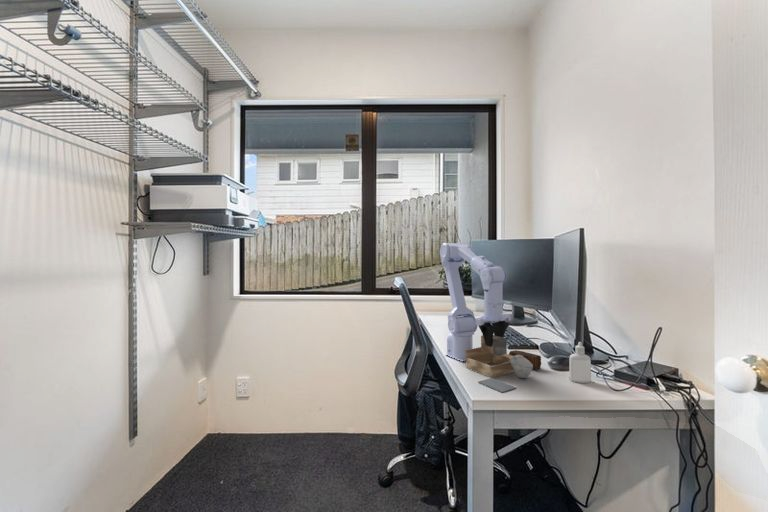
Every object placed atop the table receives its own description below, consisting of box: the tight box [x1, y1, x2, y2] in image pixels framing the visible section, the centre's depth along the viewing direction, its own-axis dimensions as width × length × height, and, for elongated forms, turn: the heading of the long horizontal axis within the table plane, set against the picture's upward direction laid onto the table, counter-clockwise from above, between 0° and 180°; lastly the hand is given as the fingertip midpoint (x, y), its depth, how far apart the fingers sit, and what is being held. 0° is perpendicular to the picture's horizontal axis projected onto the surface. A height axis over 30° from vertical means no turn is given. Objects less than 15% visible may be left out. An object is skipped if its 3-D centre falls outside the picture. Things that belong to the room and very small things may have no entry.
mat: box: [478, 377, 517, 394], centre depth 101 cm, size 9×6×1 cm, turn 31°
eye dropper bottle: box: [568, 341, 592, 384], centre depth 104 cm, size 4×6×12 cm
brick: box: [508, 350, 542, 372], centre depth 118 cm, size 11×4×5 cm, turn 35°
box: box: [480, 334, 508, 356], centre depth 110 cm, size 7×4×5 cm, turn 31°
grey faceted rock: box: [510, 355, 533, 379], centre depth 107 cm, size 6×7×7 cm
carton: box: [465, 346, 515, 378], centre depth 116 cm, size 11×16×6 cm
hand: (493, 344), depth 110 cm, fingers closed on box, 4 cm apart
